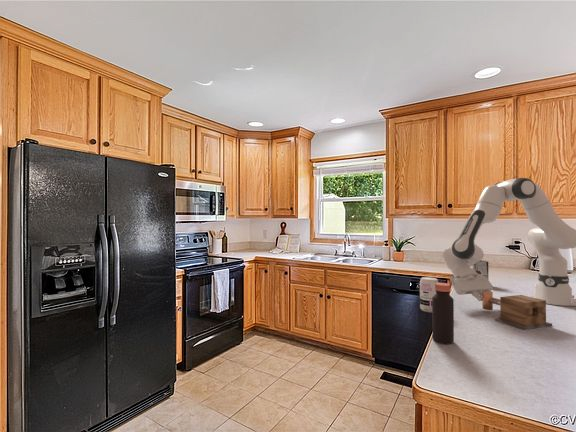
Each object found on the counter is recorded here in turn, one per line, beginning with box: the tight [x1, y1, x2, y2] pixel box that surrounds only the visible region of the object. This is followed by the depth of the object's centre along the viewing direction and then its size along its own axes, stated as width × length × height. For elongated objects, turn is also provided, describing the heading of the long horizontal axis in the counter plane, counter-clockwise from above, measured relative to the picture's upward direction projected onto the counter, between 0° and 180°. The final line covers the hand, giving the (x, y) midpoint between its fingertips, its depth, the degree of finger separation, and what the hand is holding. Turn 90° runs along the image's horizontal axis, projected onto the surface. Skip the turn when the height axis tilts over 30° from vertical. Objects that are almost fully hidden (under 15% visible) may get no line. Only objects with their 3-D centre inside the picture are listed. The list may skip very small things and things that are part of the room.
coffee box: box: [472, 259, 489, 280], centre depth 203 cm, size 9×6×16 cm
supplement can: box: [419, 276, 440, 313], centre depth 148 cm, size 8×8×15 cm
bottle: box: [431, 282, 455, 345], centre depth 111 cm, size 7×7×20 cm
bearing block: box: [494, 294, 553, 331], centre depth 130 cm, size 16×12×10 cm
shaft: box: [481, 290, 500, 311], centre depth 138 cm, size 4×20×8 cm, turn 18°
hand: (482, 300), depth 148 cm, fingers closed, pressing on shaft
